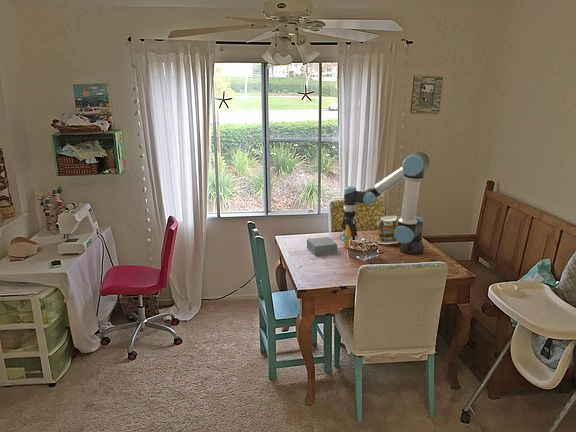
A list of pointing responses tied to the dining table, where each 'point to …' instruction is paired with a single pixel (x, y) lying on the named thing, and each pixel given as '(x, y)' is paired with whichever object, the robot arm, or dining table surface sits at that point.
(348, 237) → the orange blue tower
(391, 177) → the robot arm
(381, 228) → the glass jar
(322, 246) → the plinth
